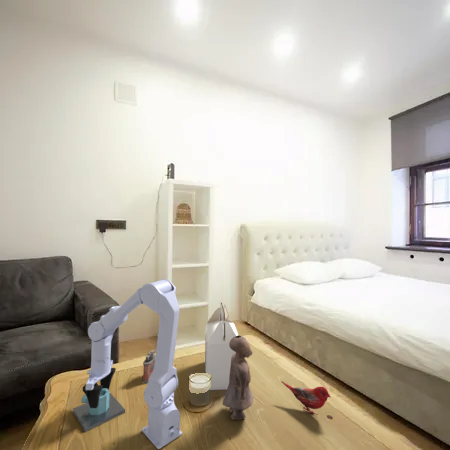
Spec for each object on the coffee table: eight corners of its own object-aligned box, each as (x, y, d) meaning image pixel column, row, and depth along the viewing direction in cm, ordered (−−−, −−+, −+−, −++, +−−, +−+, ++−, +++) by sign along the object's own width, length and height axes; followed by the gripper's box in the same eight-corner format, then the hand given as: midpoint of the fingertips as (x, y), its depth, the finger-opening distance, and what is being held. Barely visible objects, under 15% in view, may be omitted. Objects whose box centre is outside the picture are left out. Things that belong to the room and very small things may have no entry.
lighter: (148, 383, 100) (149, 357, 101) (140, 382, 101) (141, 356, 101) (157, 373, 108) (158, 348, 109) (150, 372, 109) (151, 348, 109)
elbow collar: (111, 403, 87) (111, 388, 87) (103, 415, 81) (104, 399, 81) (87, 403, 87) (88, 387, 87) (77, 414, 81) (78, 398, 81)
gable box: (240, 389, 98) (242, 315, 99) (205, 391, 97) (207, 315, 98) (233, 361, 120) (234, 300, 121) (204, 361, 119) (206, 300, 120)
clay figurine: (258, 427, 79) (259, 344, 80) (226, 431, 77) (228, 346, 78) (247, 400, 92) (248, 329, 92) (219, 403, 90) (220, 330, 91)
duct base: (125, 412, 84) (125, 396, 84) (85, 432, 76) (85, 414, 76) (110, 395, 93) (110, 381, 93) (72, 411, 84) (73, 395, 84)
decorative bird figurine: (329, 425, 80) (329, 392, 81) (278, 400, 92) (279, 371, 92) (332, 420, 83) (332, 388, 83) (282, 396, 94) (282, 368, 94)
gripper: (99, 347, 92) (97, 386, 91) (76, 368, 77) (74, 414, 77) (119, 347, 92) (117, 386, 91) (99, 368, 77) (98, 415, 77)
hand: (99, 399), depth 84 cm, fingers open, 7 cm apart
